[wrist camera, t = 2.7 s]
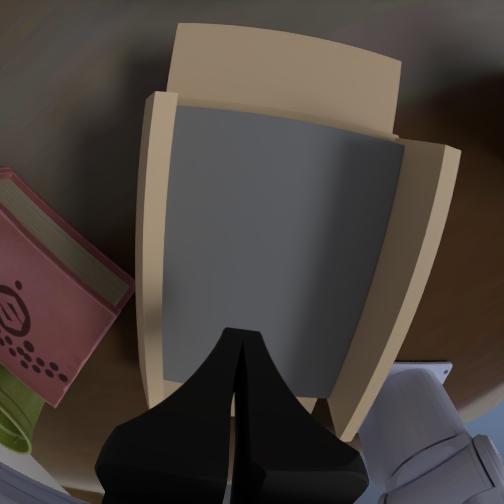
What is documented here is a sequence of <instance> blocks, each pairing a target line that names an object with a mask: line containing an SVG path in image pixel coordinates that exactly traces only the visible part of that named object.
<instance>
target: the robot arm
mask: <svg viewBox="0 0 504 504" xmlns="http://www.w3.org/2000/svg"><path fill="white" fill-rule="evenodd" d="M451 368H452V363H451V362H394V363H393V365H392V367H391V369H390V371H389V373H388V375H387V377H386V379H385V381H384V383H383V385H382V387H381V389H380V391H379V393H378V395H377V397H376V398H375V400H374V402H373V404H372V406H371V408H370V410H369V411H368V413H367V415H366V417H365V418H364V420H363V422H362V424H361V425H360V427H359V429H358V431H357V432H356V433H358V434H359V438H360V441H361V445H362V449H363V453H364V457H365V461H366V464H367V468H368V472H369V475H370V478H371V480H372V481H373V482H374V484H375V485H377V487H379V488H380V489H381V490H383V491H385V493H383V494H382V495H381V496H380V498H379V500H378V504H504V461H503V459H502V458H501V456H500V454H499V452H498V450H497V449H496V447H495V445H494V444H493V442H492V441H491V439H490V438H489V436H486V435H480V434H478V435H477V436H475V437H474V438H472V437H471V436H470V434H469V433H468V431H467V429H466V427H465V425H464V423H463V421H462V419H461V418H460V416H459V414H458V412H457V410H456V409H455V407H454V405H453V403H452V401H451V400H450V398H449V396H448V394H447V393H446V391H445V389H444V388H443V386H442V384H443V382H444V380H445V379H446V377H447V375H448V373H449V372H450V370H451ZM233 396H234V410H235V453H234V465H233V476H232V487H231V499H230V504H353V503H354V502H355V501H356V500H357V499H358V498H359V497H360V496H361V495H362V494H363V492H364V491H365V490H366V488H367V487H368V485H369V479H368V475H367V471H366V468H365V465H364V462H363V460H362V458H361V455H360V453H359V452H358V451H357V450H355V449H354V448H352V447H351V446H349V445H348V444H346V443H345V442H343V441H342V440H340V439H339V438H337V437H336V436H335V435H333V434H332V433H331V432H330V431H328V430H327V429H326V428H325V427H324V426H322V425H321V424H320V423H319V422H318V421H317V420H316V419H315V418H314V417H313V416H312V415H311V414H310V413H309V412H308V411H307V410H306V409H305V408H304V406H303V405H302V404H301V403H300V402H299V400H298V399H297V398H296V397H295V395H294V394H293V393H292V391H291V390H290V389H289V387H288V386H287V384H286V383H285V381H284V379H283V378H282V376H281V375H280V373H279V371H278V369H277V368H276V366H275V364H274V362H273V360H272V358H271V356H270V354H269V352H268V349H267V347H266V345H265V342H264V339H263V336H262V334H261V333H260V331H253V330H245V329H237V328H230V327H226V328H224V329H223V332H222V334H221V336H220V338H219V340H218V342H217V344H216V345H215V347H214V348H213V350H212V351H211V353H210V354H209V355H208V357H207V358H206V359H205V361H204V362H203V363H202V364H201V366H200V367H199V368H198V369H197V370H196V371H195V373H194V374H193V375H192V376H191V377H190V378H189V379H188V380H187V381H186V382H185V383H184V384H183V385H182V386H180V387H179V388H178V389H177V390H176V391H175V392H173V393H172V394H171V395H170V396H168V397H167V398H166V399H164V400H163V401H162V402H160V403H159V404H157V405H156V406H154V407H153V408H151V409H149V410H148V411H146V412H145V413H143V414H141V415H139V416H138V417H136V418H134V419H132V420H129V421H127V422H125V423H123V424H121V425H119V426H117V427H115V429H114V430H113V431H112V433H111V434H110V436H109V437H108V439H107V440H106V442H105V444H104V445H103V447H102V449H101V452H100V454H99V457H98V459H97V462H96V465H95V467H94V468H95V472H96V475H97V477H98V479H99V481H100V483H101V485H102V487H103V489H104V491H105V494H104V497H103V500H102V503H101V504H222V503H223V498H224V494H225V489H226V485H227V478H228V466H229V441H230V421H231V405H232V400H233ZM0 504H91V503H88V502H85V501H83V500H80V499H77V498H75V497H72V496H70V495H67V494H65V493H62V492H60V491H57V490H55V489H53V488H50V487H48V486H46V485H44V484H42V483H40V482H37V481H35V480H33V479H31V478H29V477H27V476H25V475H23V474H21V473H20V472H18V471H16V470H14V469H12V468H10V467H8V466H7V465H4V464H3V463H1V462H0Z"/></svg>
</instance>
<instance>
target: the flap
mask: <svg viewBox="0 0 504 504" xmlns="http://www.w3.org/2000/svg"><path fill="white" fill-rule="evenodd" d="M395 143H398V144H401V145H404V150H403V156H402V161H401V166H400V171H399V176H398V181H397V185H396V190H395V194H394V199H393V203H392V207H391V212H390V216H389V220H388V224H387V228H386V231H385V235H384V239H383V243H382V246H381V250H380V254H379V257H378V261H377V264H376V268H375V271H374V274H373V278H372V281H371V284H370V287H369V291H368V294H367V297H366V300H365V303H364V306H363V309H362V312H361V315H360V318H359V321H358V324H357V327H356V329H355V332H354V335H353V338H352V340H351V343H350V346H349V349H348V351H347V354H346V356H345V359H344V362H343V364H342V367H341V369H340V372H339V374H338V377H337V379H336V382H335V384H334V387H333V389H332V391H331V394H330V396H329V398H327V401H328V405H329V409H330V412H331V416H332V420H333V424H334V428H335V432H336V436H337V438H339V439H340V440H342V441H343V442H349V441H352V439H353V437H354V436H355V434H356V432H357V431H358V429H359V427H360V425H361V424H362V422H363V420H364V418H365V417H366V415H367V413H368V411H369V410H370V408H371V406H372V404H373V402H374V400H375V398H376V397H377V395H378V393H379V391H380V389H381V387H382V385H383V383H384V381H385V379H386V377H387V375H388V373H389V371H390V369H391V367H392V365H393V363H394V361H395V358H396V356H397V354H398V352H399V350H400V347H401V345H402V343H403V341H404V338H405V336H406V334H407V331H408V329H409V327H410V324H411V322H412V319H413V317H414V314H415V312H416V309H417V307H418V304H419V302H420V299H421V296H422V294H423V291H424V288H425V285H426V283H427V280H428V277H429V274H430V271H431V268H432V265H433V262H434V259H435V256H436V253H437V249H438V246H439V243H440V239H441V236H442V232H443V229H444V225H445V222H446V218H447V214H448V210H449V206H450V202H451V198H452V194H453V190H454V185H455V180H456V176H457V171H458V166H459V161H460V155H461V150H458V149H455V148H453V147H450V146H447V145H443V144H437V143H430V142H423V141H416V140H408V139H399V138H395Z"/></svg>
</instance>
